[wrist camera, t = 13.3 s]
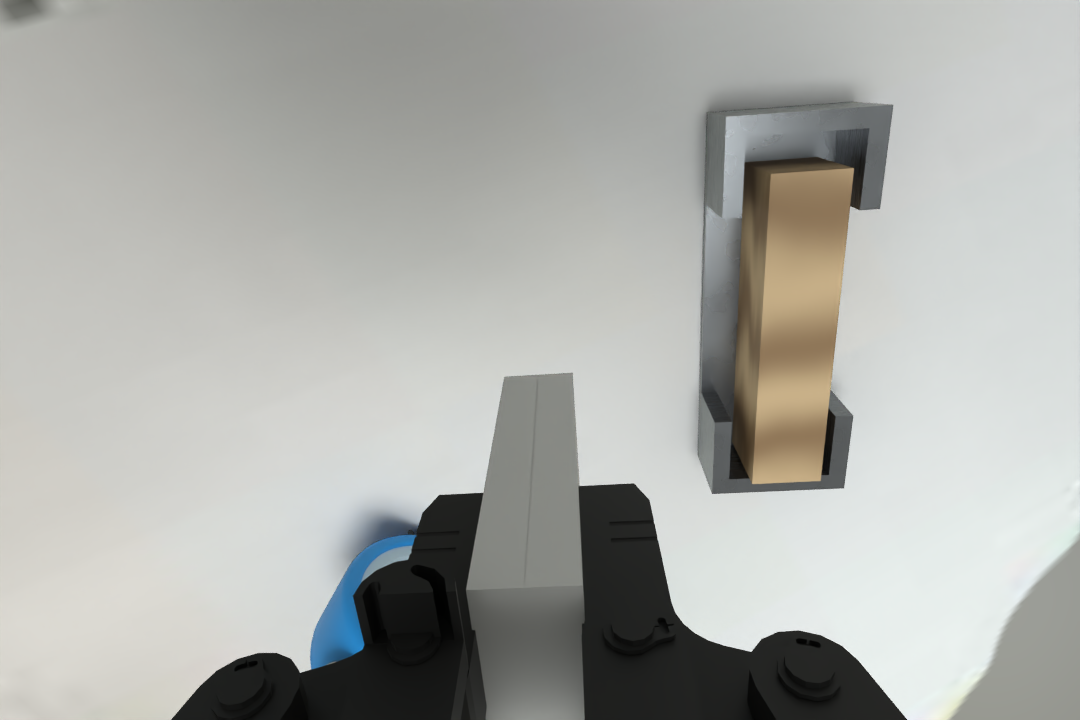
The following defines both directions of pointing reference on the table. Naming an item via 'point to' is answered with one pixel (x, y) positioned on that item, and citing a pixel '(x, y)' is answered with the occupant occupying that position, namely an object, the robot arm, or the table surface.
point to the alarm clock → (339, 619)
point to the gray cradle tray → (730, 142)
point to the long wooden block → (788, 314)
